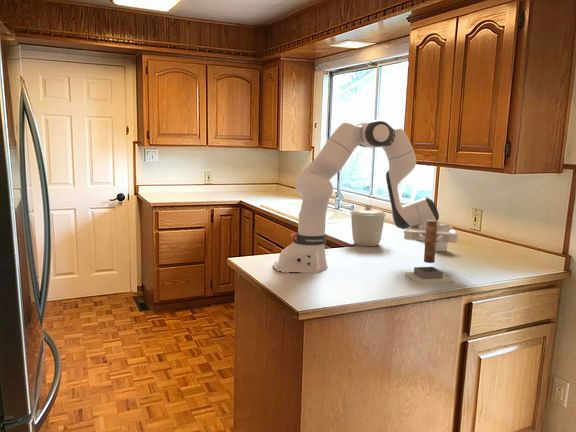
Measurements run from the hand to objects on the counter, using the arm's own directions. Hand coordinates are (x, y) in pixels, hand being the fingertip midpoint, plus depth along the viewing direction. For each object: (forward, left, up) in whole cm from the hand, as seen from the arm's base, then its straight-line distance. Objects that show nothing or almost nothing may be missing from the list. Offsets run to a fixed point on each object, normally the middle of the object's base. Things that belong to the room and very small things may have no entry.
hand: (430, 239), depth 187 cm
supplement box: (+28, +47, -16) cm, 57 cm away
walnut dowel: (0, +1, -9) cm, 9 cm away
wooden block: (+30, +72, -16) cm, 79 cm away
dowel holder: (0, +1, -16) cm, 16 cm away
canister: (-3, +62, -16) cm, 64 cm away
